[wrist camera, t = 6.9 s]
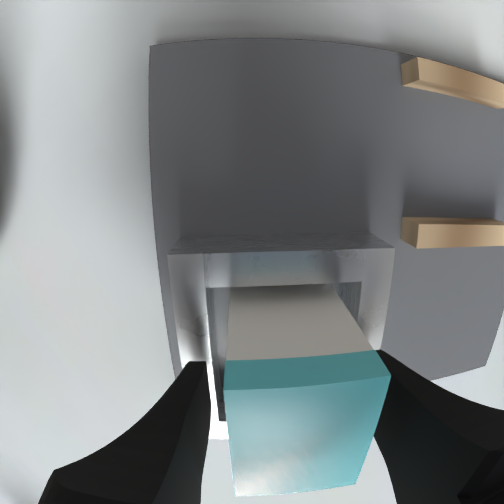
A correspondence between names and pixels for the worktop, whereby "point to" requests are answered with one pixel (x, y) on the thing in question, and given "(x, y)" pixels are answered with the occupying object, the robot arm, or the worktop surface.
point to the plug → (298, 390)
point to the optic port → (272, 274)
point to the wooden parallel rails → (469, 88)
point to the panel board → (331, 177)
